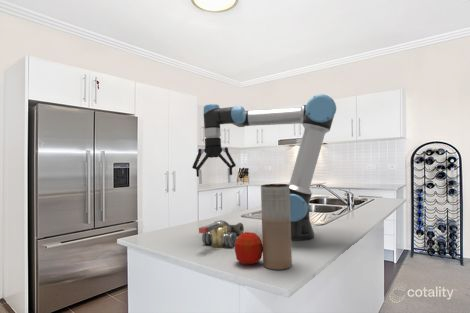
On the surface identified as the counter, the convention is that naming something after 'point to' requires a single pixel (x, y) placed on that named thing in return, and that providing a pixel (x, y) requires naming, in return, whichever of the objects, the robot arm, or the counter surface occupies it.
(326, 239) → the counter surface
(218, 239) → the valve pipe
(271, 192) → the vase
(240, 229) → the pipe
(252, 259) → the apple
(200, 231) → the lever
